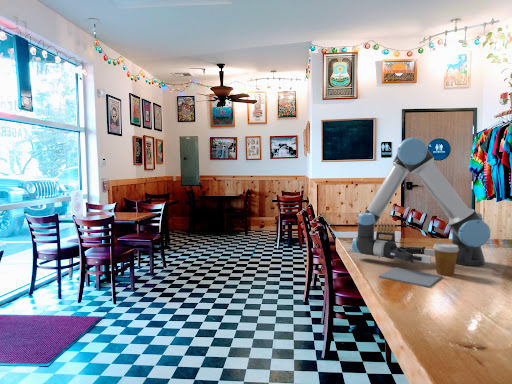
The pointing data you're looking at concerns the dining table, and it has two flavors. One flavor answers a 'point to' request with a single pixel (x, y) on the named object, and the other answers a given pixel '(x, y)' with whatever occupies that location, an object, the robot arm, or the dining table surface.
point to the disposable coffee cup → (445, 258)
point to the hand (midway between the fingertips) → (435, 257)
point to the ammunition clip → (386, 232)
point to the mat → (411, 277)
